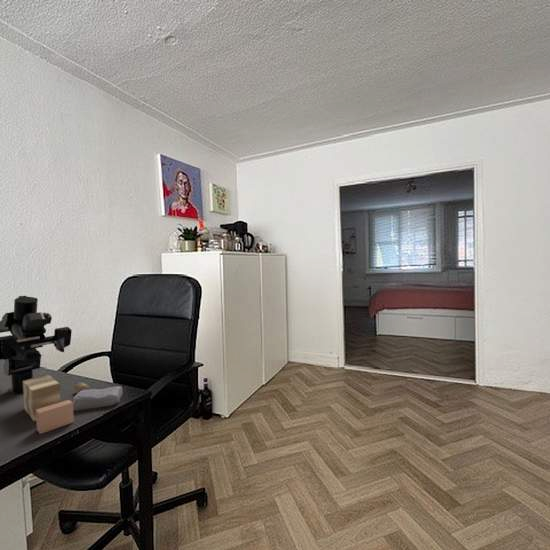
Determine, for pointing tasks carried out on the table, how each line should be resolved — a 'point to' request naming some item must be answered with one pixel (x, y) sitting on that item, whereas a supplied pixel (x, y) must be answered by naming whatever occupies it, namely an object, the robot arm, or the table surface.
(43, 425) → the block
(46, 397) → the notched wooden block
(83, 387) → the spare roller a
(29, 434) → the table surface
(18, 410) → the table surface
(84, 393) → the stone block
